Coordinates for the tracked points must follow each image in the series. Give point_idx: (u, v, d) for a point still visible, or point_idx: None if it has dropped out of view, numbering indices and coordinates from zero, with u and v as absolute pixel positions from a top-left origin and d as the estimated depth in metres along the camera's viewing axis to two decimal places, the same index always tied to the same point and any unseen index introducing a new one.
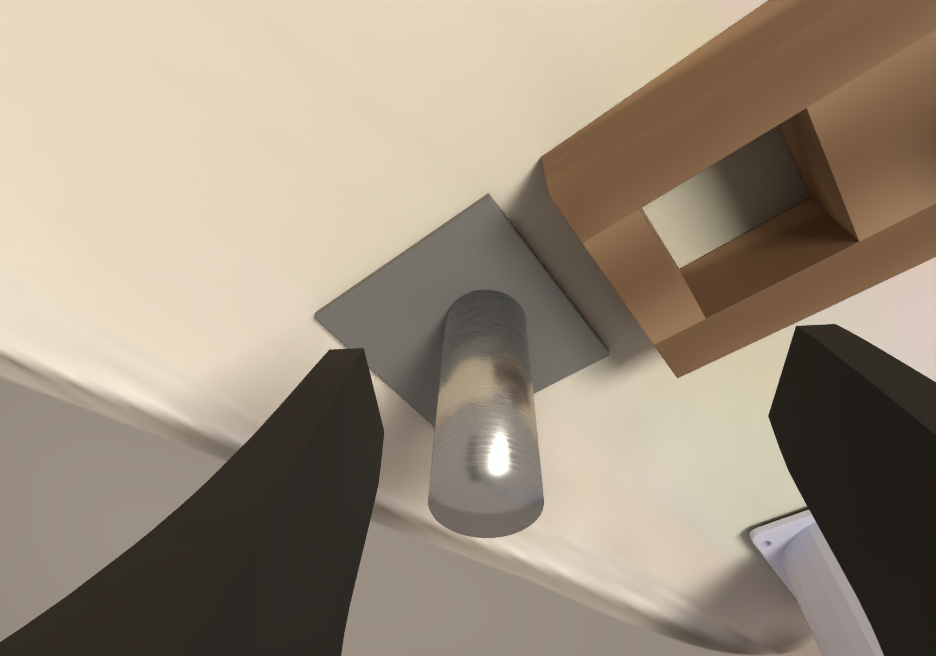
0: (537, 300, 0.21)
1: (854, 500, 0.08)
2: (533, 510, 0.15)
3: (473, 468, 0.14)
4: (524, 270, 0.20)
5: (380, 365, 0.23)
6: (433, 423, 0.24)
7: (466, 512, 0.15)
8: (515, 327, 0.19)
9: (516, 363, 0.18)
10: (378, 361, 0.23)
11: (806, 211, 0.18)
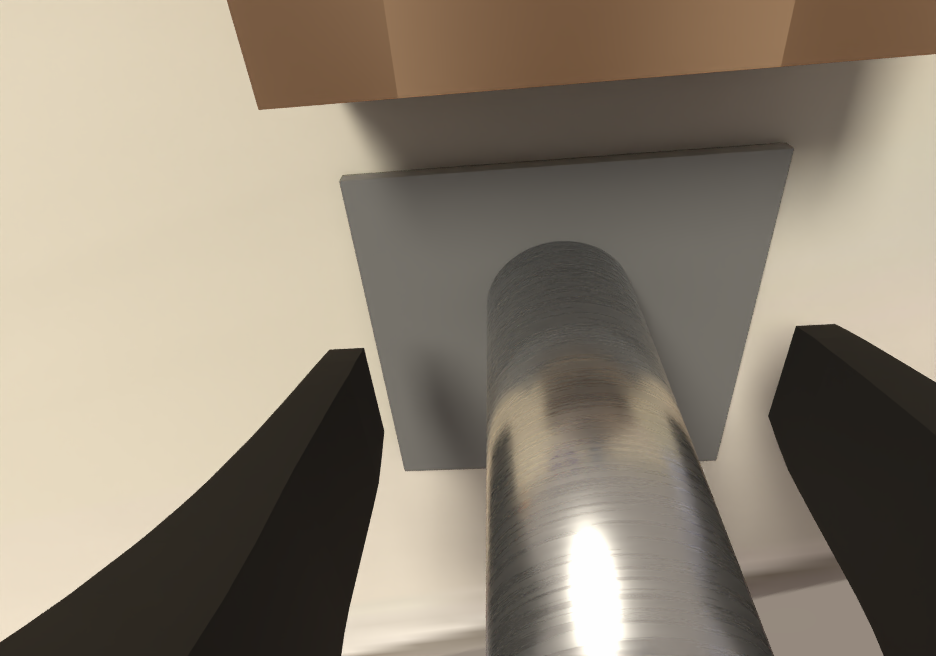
0: (573, 210, 0.11)
1: (854, 500, 0.08)
2: None
3: None
4: (502, 200, 0.11)
5: None
6: None
7: None
8: (550, 292, 0.10)
9: (556, 369, 0.08)
10: None
11: None
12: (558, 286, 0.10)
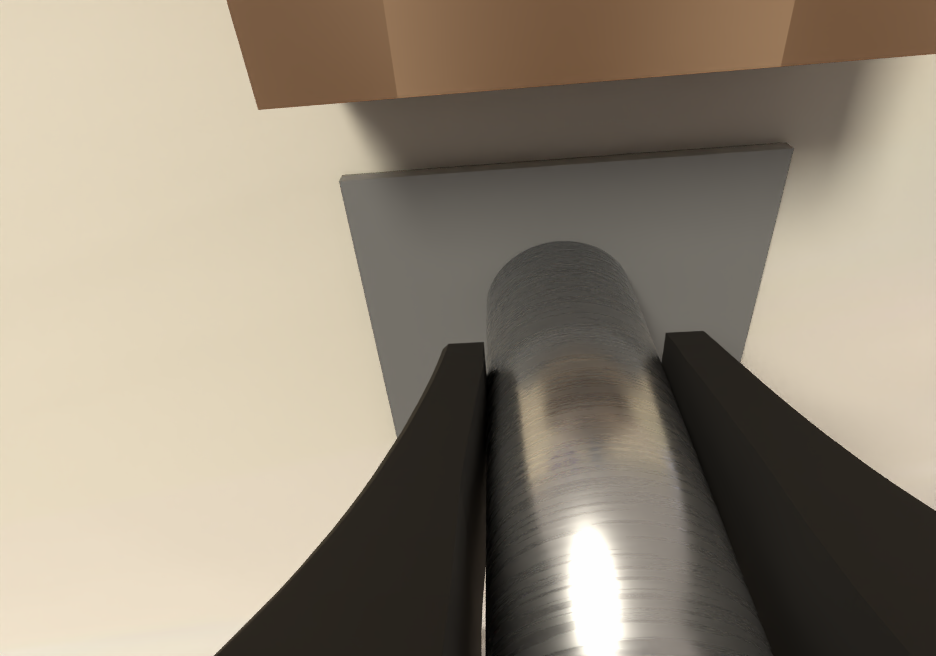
0: (573, 210, 0.11)
1: None
2: None
3: None
4: (502, 200, 0.11)
5: None
6: None
7: None
8: (550, 292, 0.10)
9: (556, 369, 0.08)
10: None
11: None
12: (558, 286, 0.10)
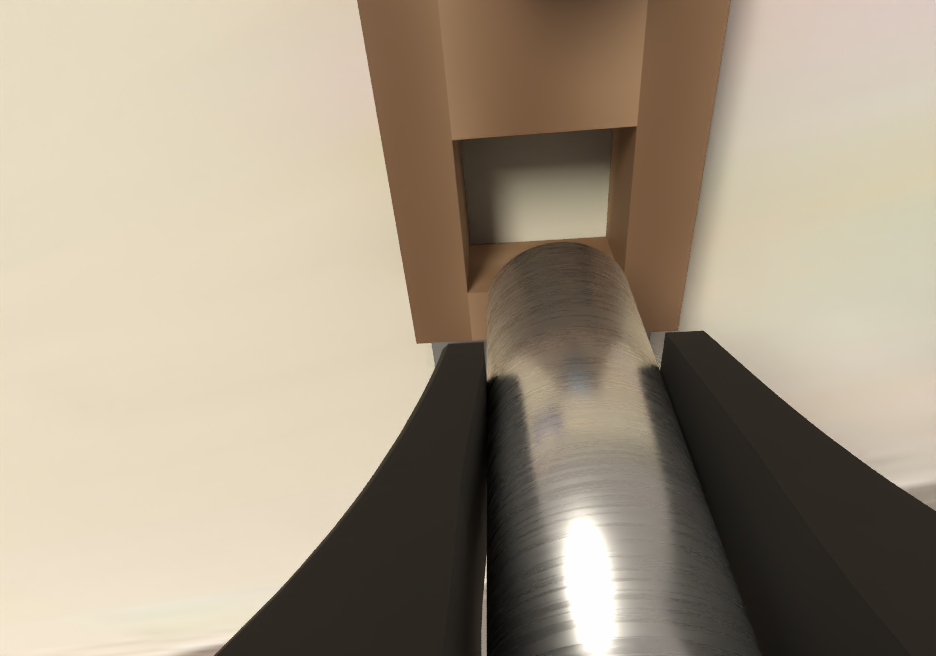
0: None
1: None
2: None
3: None
4: None
5: None
6: None
7: None
8: (548, 295, 0.10)
9: (554, 372, 0.08)
10: None
11: None
12: (556, 288, 0.10)
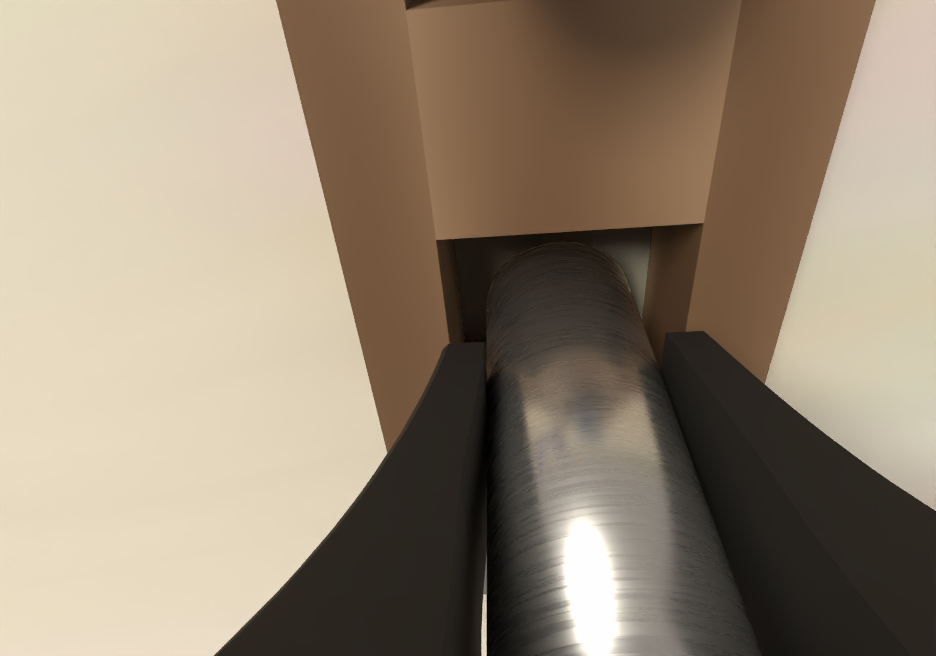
0: None
1: None
2: None
3: None
4: None
5: None
6: None
7: None
8: (548, 295, 0.10)
9: (555, 372, 0.08)
10: None
11: None
12: (557, 288, 0.10)
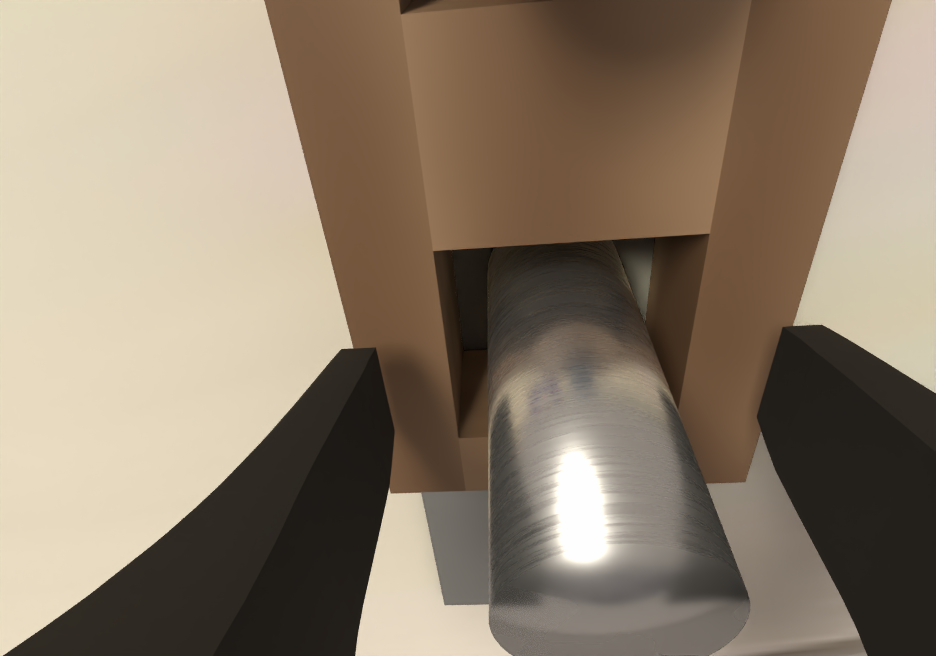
0: None
1: (839, 500, 0.08)
2: (708, 579, 0.06)
3: (503, 597, 0.06)
4: None
5: None
6: None
7: (613, 646, 0.07)
8: (543, 255, 0.11)
9: (549, 315, 0.09)
10: None
11: None
12: (551, 249, 0.11)
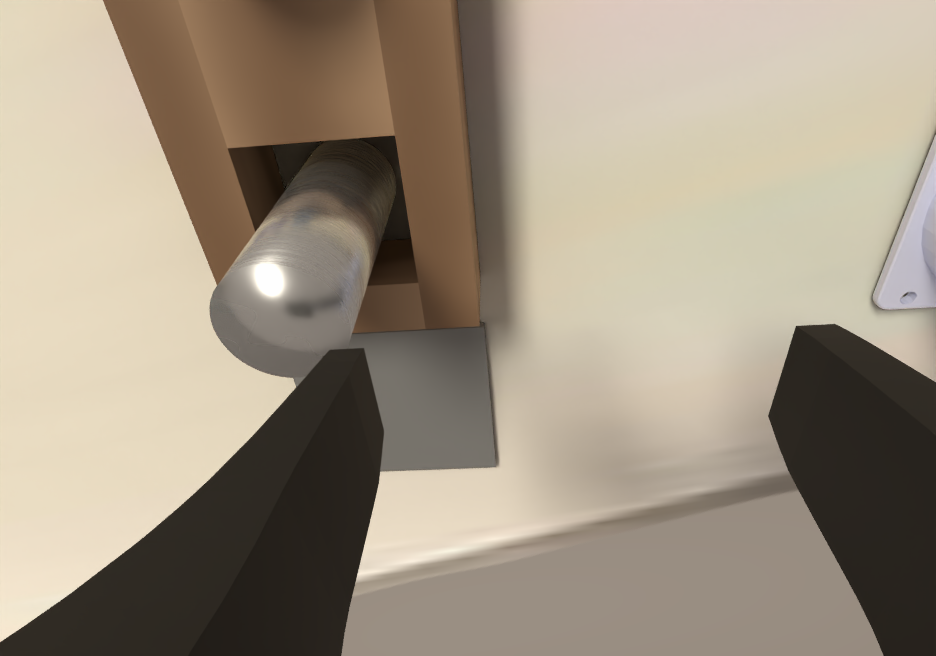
0: (390, 350, 0.23)
1: (854, 500, 0.08)
2: (312, 288, 0.12)
3: (213, 306, 0.12)
4: (356, 346, 0.22)
5: (392, 464, 0.27)
6: (473, 466, 0.26)
7: (288, 348, 0.13)
8: (317, 158, 0.17)
9: (297, 186, 0.15)
10: (387, 463, 0.26)
11: None
12: (324, 156, 0.17)
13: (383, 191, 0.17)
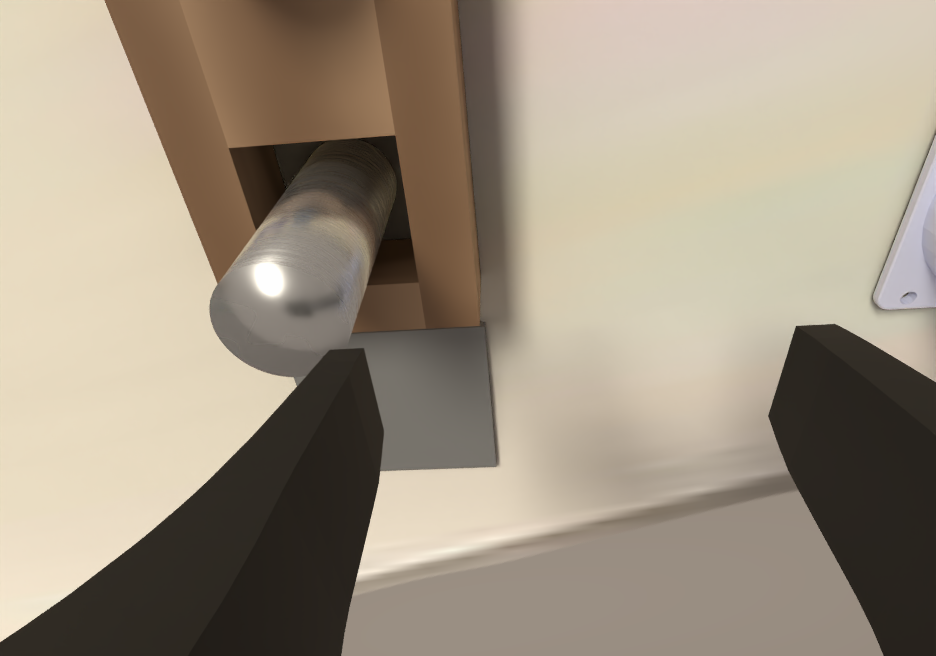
0: (391, 350, 0.23)
1: (853, 500, 0.08)
2: (312, 288, 0.12)
3: (213, 305, 0.12)
4: (357, 345, 0.22)
5: (392, 464, 0.27)
6: (473, 466, 0.26)
7: (288, 347, 0.13)
8: (318, 158, 0.17)
9: (297, 186, 0.15)
10: (387, 463, 0.27)
11: None
12: (324, 156, 0.17)
13: (383, 191, 0.17)
